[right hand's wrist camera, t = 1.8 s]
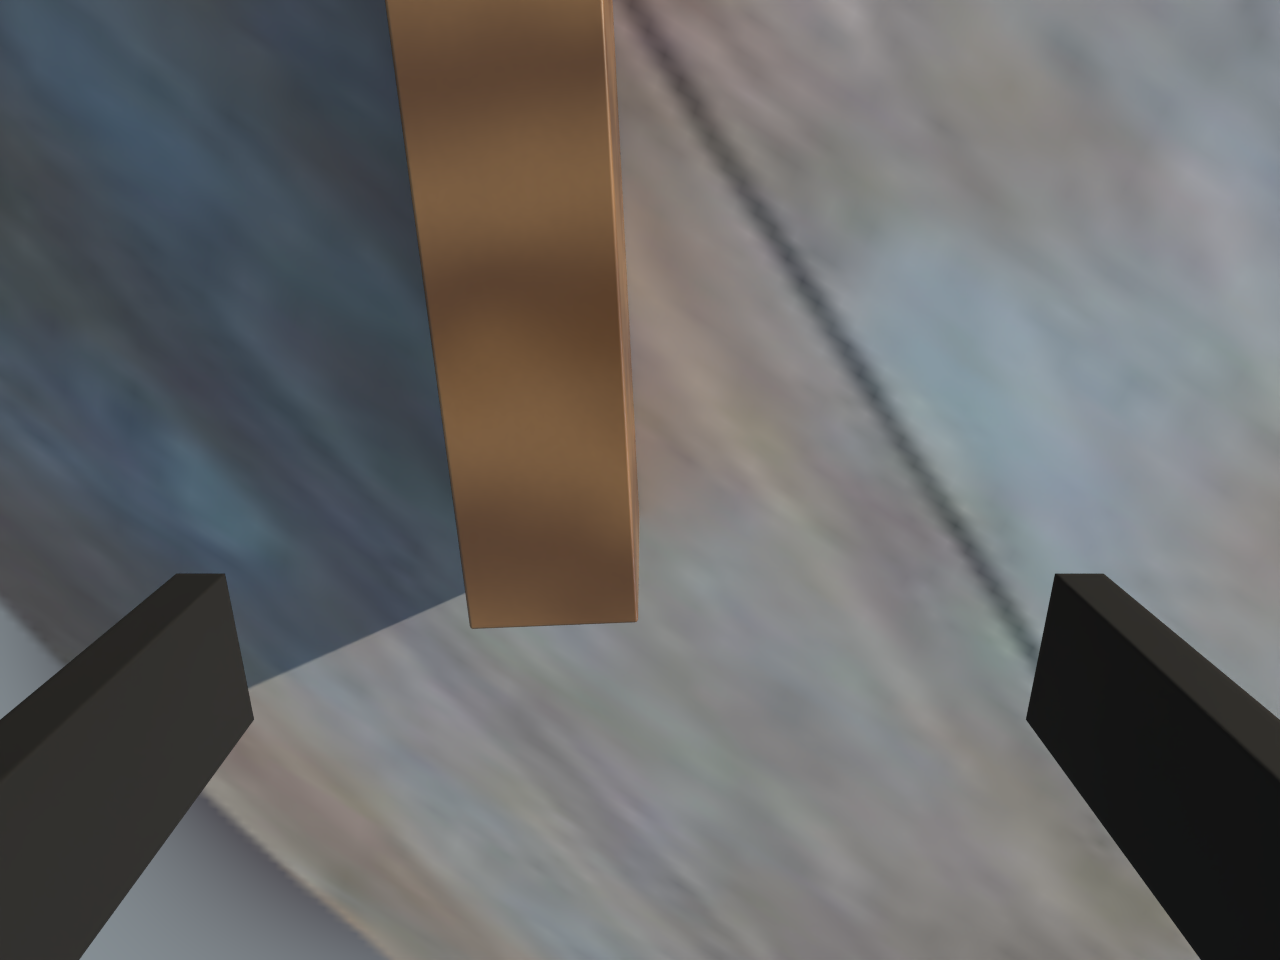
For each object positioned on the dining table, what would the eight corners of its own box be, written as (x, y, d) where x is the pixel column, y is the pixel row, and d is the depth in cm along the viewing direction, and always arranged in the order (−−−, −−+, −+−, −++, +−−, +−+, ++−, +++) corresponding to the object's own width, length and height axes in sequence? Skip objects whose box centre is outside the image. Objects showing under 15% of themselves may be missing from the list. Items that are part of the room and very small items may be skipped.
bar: (639, 517, 30) (638, 623, 23) (512, 523, 30) (469, 630, 23) (593, -357, 21) (567, -649, 14) (416, -346, 21) (298, -629, 14)
